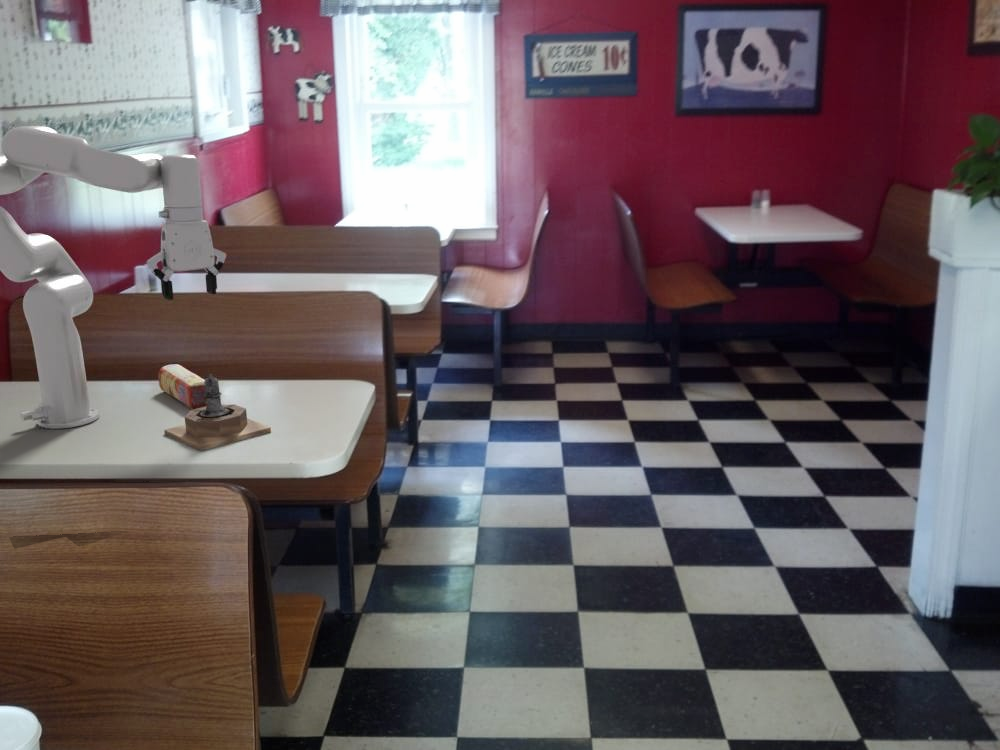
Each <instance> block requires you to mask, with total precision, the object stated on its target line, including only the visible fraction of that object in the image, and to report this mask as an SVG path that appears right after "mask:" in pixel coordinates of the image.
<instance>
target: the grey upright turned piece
mask: <svg viewBox="0 0 1000 750" xmlns="http://www.w3.org/2000/svg"><path fill="white" fill-rule="evenodd" d="M204 380H205V382H204V383H205V392H206V394H205V395H204V397H206V404H207V405H206V410H205V411H203V412H201V413H200V415H201V416H202V418H220V417H223V416H227V415H228V413H229V410H228V409H226V408H223V407H222V405H223V404H222V399H221V396H222V392H220V385H219V379H217V377H214V376H213V374H212V373H209V374H208V378H206V379H204Z"/></svg>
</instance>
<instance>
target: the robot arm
mask: <svg viewBox="0 0 1000 750" xmlns="http://www.w3.org/2000/svg"><path fill="white" fill-rule="evenodd" d="M0 148H1V152H0V196H3V195H10V194H13V193H15V192H19V191H20V190H21V189H23V188H24V187H26V186H27V185H29V184H30V183H32V182H33V181H35V180H36V179H38V178H39V177H40V176H42V175H44V174H51V175H56V176H62V177H66V178H70V179H75V180H77V181H78V182H82V183H85V184H88V185H92V186H94V187H97V188H103V189H107V190H111V191H112V190H113V191H117V192H123V193H128V194H129V193H132V194H133V193H134V194H135V193H141V192H146V191H153V190H157V189H162V196H163V206H164V207H163V209H162V210H161V211H158V217H159V218H160V219H161V218H162V219H164V222H163V223H162V227H161V233H160V234H161V235H160V251H159V252H158V253H156V254H154V255H153V256H152V257H150V258H149V259H147V260H146V265H147V266H148V268H149V269H150V271H151V273H152V274H153V275H154V276H155V277H157V278H158V280H160V284H161V285H160V288H161V294H162V296H163V298H164V299H165V300H168V301H172V300H174V290H173V281H172V280H171V279H170V278H171V277H172V276H173V274H174V273H175V272H179V273H180V272H186V271H187V272H189V271H197V270H205V271H206V272H207V273H206V275H205V287H206V289H205V290H206V292H207V293H208V294H212V295H217V290H218V283H217V282H218V281H217V280H218V279H217V276H218V275H219V272H220V271H221V270H222V269H223V266H224V263H225V261H226V258H227V253H226V252H223V251H222V250H219V249H217V248H214V245H213V239H212V235H211V230H210V227H209V223H208V221H207V220H204V215H203V214H204V213H203V204H202V203H203V200H202V199H203V198H202V189H201V188H202V187H201V175H200V164H199V159H198V158H197V156H195V155H193V154H184V153H183V154H179V153H178V154H161V153H153V152H145V153H144V152H143V153H142V152H141V153H134V154H125V153H124V154H123V153H118V152H113V151H108V150H104V149H99V148H95V147H93V146H90V145H89V143H88V141H87V140H86V139H84V137H79V136H74V135H68V134H63V133H59V132H57V131H56V130H55V129H53V128H51V127H49V126H45V125H23V126H22V125H21V126H15V127H13V128H11V129H9V130H8V131H7V132H5V134H4V135H3V137H2V139H1V143H0ZM215 257H216V261H215ZM159 262H161V266H162V269H160V268H159V267H158V263H159ZM0 272H1V273H2V274H3V275H4V276H5V278H7V279H8V280H10V281H11V282H15V283H25V282H29V281H33V280H35V279H36V280H37V281H38V282H37V283H34V284H33V285H32V286H31V287H29V289H28V290H27V291H26V292H25V294H24V297H23V299H22V300H23V301H22V308H23V313H24V316H25V319H26V322H27V324H28V329H29V331H30V335H31V338H32V344H33V345H32V346H33V348H34V349H33V350H34V357H35V362H36V369H37V375H38V381H39V388H40V395H41V399H42V401H41V403H38V407H35V409H34V410H27V411H26V410H25V411H22V412H20V419H21V421H22V422H25V421H29V420H31V421H32V422H35V421H37V425H38V426H39V427H40V426H41V428H43V427H44V429H49V428H50V429H53V430H54V429H56V430H59V429H68V428H75V427H80V426H83V425H87V424H90V423H92V422H94V421H96V420H97V419H99V417H100V413H99V410H97V408H92V407H91V403H90V396H89V395H90V394H89V391H88V382H87V376H86V368H85V361H84V356H83V354H84V353H83V347H82V341H81V337H80V334H79V331H78V329H77V326H76V325H75V322H74V320H73V318H74V317H77V316H79V315H81V314H83V313H86V312H87V311H88V310H89V309H90V308H91V306H92V304H93V302H94V291H93V288H92V285H91V284H90V282H89V280H88V279H87V277H86V276H85V275H84V273H83V272H82V271H81V270H80V268H79V266H78V265H77V264H76V262H74V260H73V259H72V257H71V256H70V254H69V253H68V252H67V251H66V250H65V248H64V246H62V245H61V243H60V242H59V241H57V240H56V239H55V238H53V237H52V236H50V235H47V234H44V233H39V232H36V233H29V234H27V233H26V232H25V231H24V230H23V229H22V228H21V227H20V226H19V224H18V223H17V222H16V220H15V219H14V218H13V216H12V215H11V214H10V212H9V211H7V210H6V209H5V208H4V207H2V206H1V205H0Z"/></svg>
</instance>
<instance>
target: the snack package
mask: <svg viewBox="0 0 1000 750" xmlns="http://www.w3.org/2000/svg"><path fill="white" fill-rule="evenodd" d="M157 376H158V384H159V388H160V390H161V391H162V392H165V393H166V394H168V395H169V396H170V397H173V398H174V399H176V400H178V401H180V402H181V403H183V404H184V405H186V406H187V407H188V409H190V410H194V409H198V408H202V407H206V405H207V404H206V397H204V395H205V394H206V392H205V383H204V382H205V380H206V379H204V378H202V377H201V376H199V375H198V374H196V373H194V372H192V371H190V370H189V369H187V368H186V367H184V366H183V365H180V364H178V363H177V364H175V363H174V364H168V365H167V364H166V365H164V366H162V367H161V368H160V369H159V372H158V375H157Z"/></svg>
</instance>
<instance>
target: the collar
mask: <svg viewBox="0 0 1000 750" xmlns="http://www.w3.org/2000/svg"><path fill="white" fill-rule="evenodd" d="M222 407H223V408H226V409H228V410H229V413H228V415H227V416H223V417H220V418H202V416H201V415H200V413H201V412H203V411H205V410H206V407H202V408H198V409H190V411H189V412H187V414H186V415H185V416H184V424H182V425H178V426H174V427H169V428H166V429H164V430H163V431H164V432H163V433H164V435H165V436H167V437H170V438H172V439H174V440H175V441H178V440H179V442H181V443H183V444H185V443H186V444H185V445H187V446H190V447H192V448H194V449H196V448H197V449H196V450H198V449H199V451H200V450H201V452H202V451H207V450H210V449H214V448H217V447H220V446H225V445H228V444H232V443H235V442H240V441H243V440H247V439H250V438H253V436H254V437H257V435H258V436H261V435H265V434H269V433H271V432H272V429H271V427H270V426H268V425H265V424H262V423H260V422H258V421H255V420H252V419H250V418H248V415H247V408H245V407H243V406H239V405H238V404H222ZM246 438H247V439H246ZM224 444H225V445H224ZM209 448H210V449H209Z"/></svg>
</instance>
